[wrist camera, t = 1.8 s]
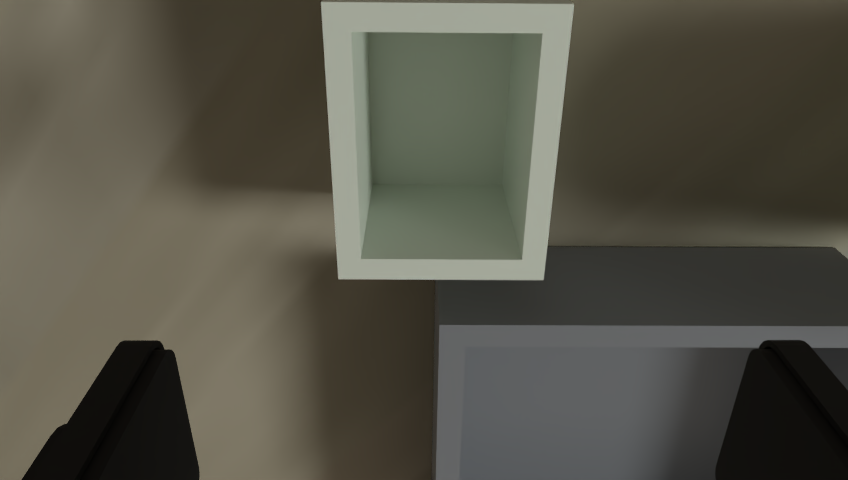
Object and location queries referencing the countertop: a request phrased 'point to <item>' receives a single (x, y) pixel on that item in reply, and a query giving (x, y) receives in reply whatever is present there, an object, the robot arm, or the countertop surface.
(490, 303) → the charcoal crate
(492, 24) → the sage crate
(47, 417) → the countertop surface
